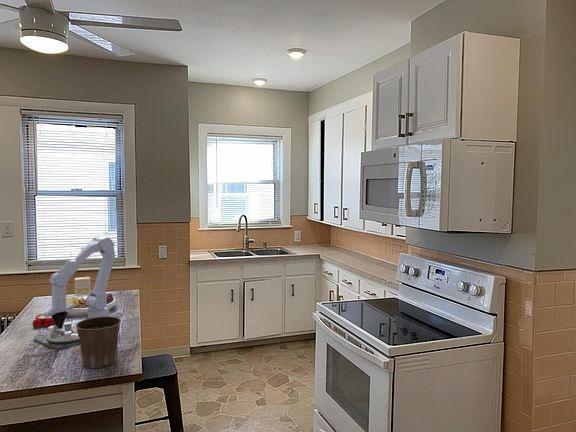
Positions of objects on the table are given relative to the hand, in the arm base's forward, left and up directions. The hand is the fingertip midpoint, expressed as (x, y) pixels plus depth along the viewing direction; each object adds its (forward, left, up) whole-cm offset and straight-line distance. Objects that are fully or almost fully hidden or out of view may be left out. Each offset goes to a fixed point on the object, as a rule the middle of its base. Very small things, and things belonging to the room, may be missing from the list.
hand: (59, 328), depth 200 cm
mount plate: (0, +7, -3) cm, 8 cm away
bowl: (-31, -30, -4) cm, 43 cm away
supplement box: (-42, -52, -4) cm, 67 cm away
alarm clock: (-5, -21, -4) cm, 22 cm away
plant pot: (+7, +42, -4) cm, 43 cm away
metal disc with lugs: (0, +7, -2) cm, 7 cm away
